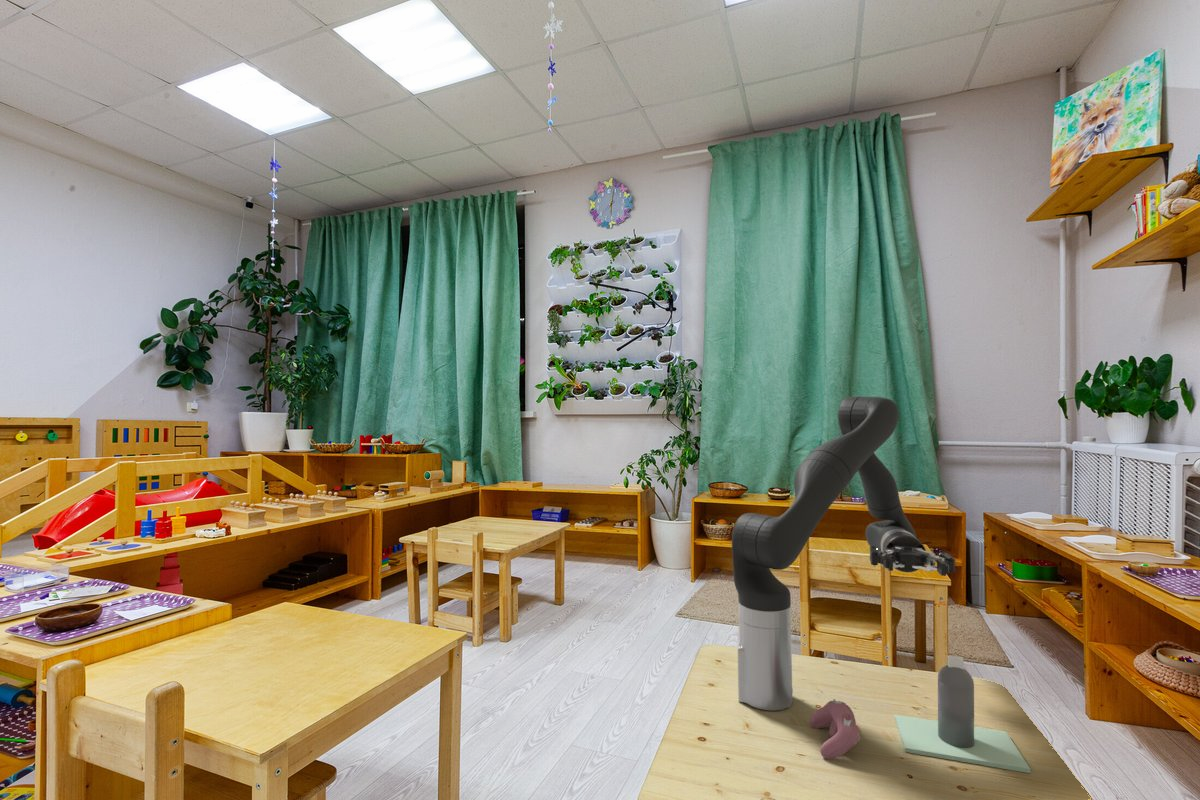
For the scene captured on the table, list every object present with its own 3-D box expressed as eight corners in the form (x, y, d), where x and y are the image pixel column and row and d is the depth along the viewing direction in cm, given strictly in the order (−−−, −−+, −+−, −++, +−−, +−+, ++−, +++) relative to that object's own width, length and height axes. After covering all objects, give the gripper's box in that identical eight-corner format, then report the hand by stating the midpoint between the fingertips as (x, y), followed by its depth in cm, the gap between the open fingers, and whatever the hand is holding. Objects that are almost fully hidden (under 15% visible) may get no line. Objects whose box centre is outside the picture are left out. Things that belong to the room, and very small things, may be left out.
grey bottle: (942, 744, 86) (942, 661, 86) (934, 727, 91) (934, 648, 91) (978, 750, 84) (978, 666, 85) (968, 733, 89) (968, 652, 89)
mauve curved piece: (848, 773, 83) (869, 732, 82) (818, 757, 84) (840, 716, 83) (831, 735, 93) (851, 699, 92) (805, 721, 93) (824, 684, 93)
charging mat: (905, 751, 85) (905, 747, 85) (894, 718, 95) (894, 714, 95) (1030, 773, 80) (1030, 769, 80) (1006, 735, 89) (1006, 731, 89)
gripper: (864, 528, 120) (874, 543, 105) (940, 534, 115) (962, 550, 100) (864, 564, 120) (874, 584, 104) (941, 571, 115) (962, 593, 99)
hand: (917, 567), depth 102 cm, fingers open, 8 cm apart
